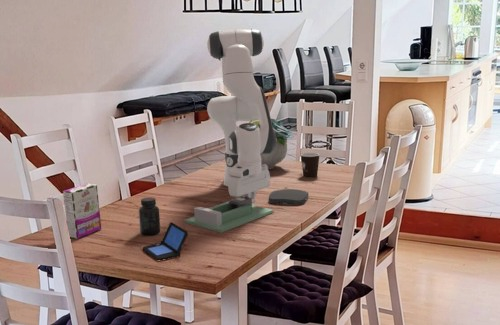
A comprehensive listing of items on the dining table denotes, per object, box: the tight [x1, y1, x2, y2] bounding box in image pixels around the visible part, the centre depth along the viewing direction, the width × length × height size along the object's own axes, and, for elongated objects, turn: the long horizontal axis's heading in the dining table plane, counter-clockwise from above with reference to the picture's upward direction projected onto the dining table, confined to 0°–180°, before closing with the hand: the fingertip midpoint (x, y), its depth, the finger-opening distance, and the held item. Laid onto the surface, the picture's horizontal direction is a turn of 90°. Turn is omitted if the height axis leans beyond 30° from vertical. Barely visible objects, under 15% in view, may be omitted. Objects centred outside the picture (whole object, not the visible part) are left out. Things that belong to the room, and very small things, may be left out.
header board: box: [184, 200, 275, 233], centre depth 217 cm, size 28×18×6 cm, turn 139°
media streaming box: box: [268, 188, 309, 206], centre depth 238 cm, size 15×15×3 cm
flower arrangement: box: [248, 118, 295, 170], centre depth 290 cm, size 25×25×24 cm
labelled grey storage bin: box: [228, 195, 253, 211], centre depth 221 cm, size 7×5×5 cm
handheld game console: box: [142, 222, 189, 261], centre depth 185 cm, size 12×11×7 cm
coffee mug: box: [300, 152, 320, 178], centre depth 276 cm, size 12×9×10 cm
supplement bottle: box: [138, 197, 161, 237], centre depth 202 cm, size 7×7×12 cm
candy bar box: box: [62, 182, 102, 240], centre depth 203 cm, size 11×5×16 cm, turn 148°
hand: (250, 203), depth 225 cm, fingers closed
